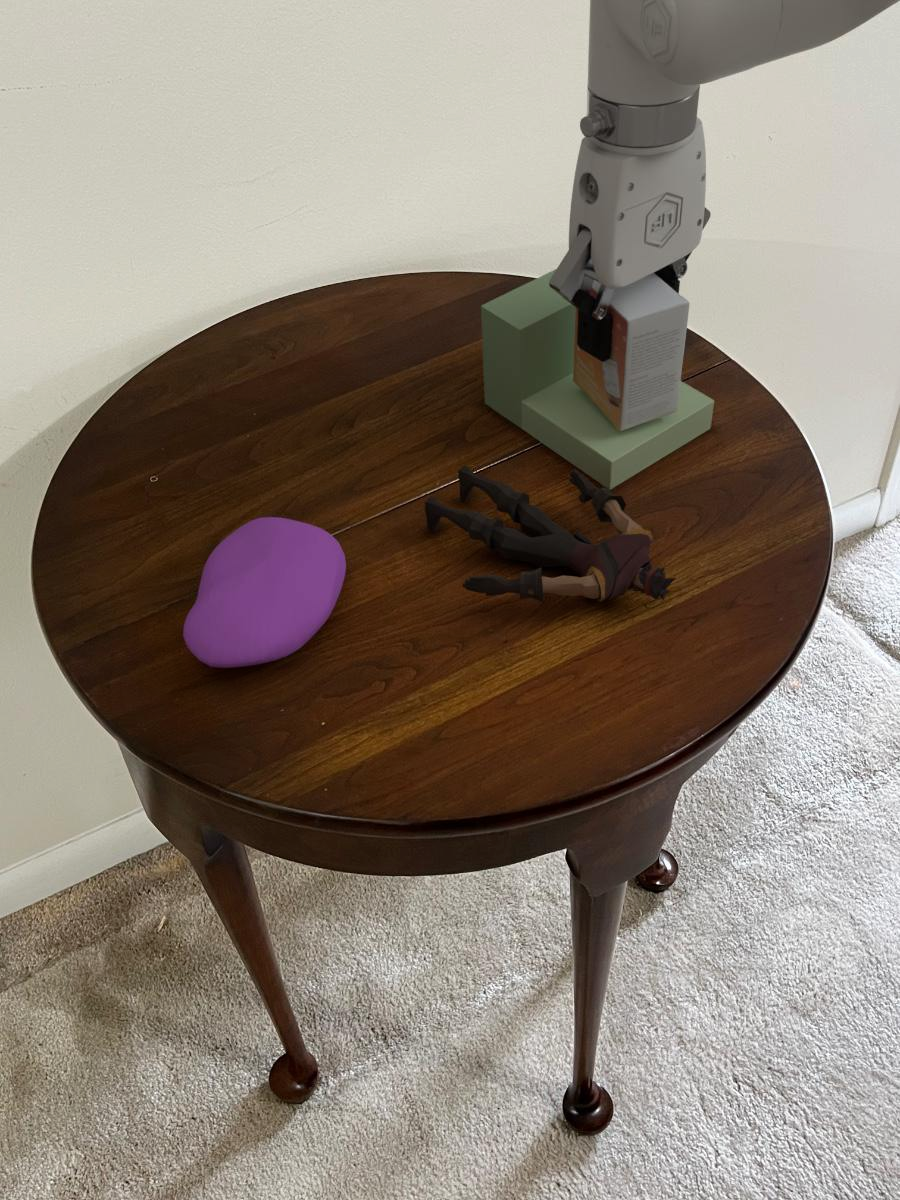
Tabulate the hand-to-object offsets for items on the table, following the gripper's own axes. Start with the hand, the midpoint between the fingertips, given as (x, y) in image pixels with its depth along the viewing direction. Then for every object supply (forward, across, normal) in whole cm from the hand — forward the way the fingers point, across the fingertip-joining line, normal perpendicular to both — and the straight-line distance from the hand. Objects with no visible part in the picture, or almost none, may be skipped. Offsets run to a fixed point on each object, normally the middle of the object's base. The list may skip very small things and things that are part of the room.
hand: (626, 334), depth 90 cm
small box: (+6, 0, 0) cm, 6 cm away
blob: (+10, -35, +2) cm, 36 cm away
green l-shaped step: (+10, 0, +3) cm, 10 cm away
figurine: (+10, -15, -8) cm, 20 cm away
